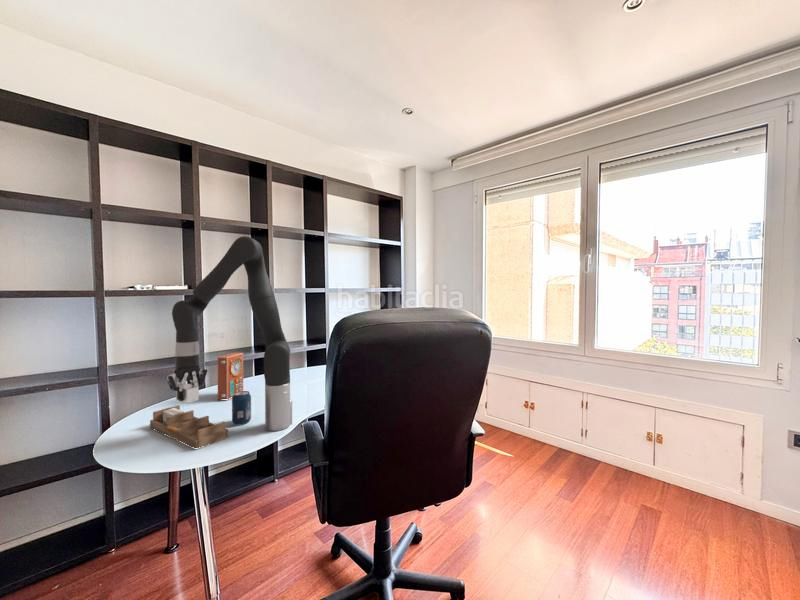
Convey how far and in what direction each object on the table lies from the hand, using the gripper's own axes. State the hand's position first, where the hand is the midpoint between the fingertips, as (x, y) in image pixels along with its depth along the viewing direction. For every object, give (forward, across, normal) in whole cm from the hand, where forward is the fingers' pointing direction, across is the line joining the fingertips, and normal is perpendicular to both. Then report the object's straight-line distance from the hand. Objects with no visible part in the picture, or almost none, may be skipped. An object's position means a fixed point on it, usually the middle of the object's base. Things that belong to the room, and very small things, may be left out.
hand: (187, 398), depth 121 cm
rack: (+13, 0, 0) cm, 13 cm away
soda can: (+13, -17, +8) cm, 23 cm away
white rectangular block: (0, 0, 0) cm, 0 cm away
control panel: (+13, -34, -28) cm, 46 cm away
